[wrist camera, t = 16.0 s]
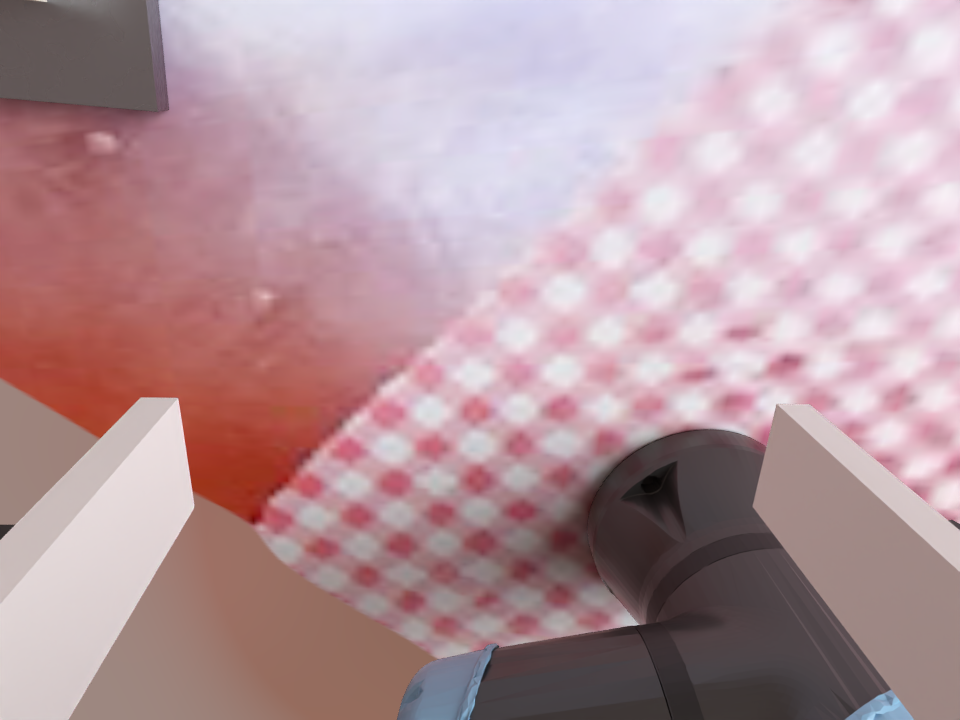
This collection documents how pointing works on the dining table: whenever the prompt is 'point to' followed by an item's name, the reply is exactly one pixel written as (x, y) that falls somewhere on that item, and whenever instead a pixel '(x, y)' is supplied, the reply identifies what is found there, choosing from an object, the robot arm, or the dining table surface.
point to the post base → (83, 53)
